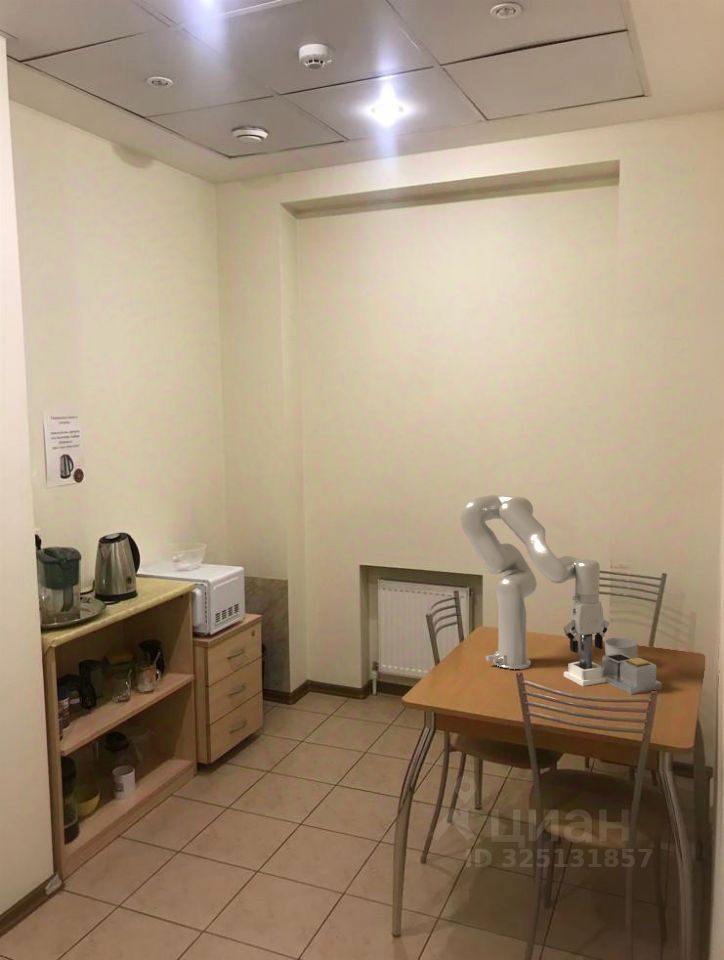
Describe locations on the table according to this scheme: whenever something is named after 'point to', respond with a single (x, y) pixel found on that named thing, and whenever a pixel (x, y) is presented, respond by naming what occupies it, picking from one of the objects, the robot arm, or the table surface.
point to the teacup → (621, 646)
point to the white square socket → (585, 674)
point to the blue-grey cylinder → (585, 652)
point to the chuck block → (629, 674)
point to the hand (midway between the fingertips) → (586, 649)
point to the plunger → (638, 662)
